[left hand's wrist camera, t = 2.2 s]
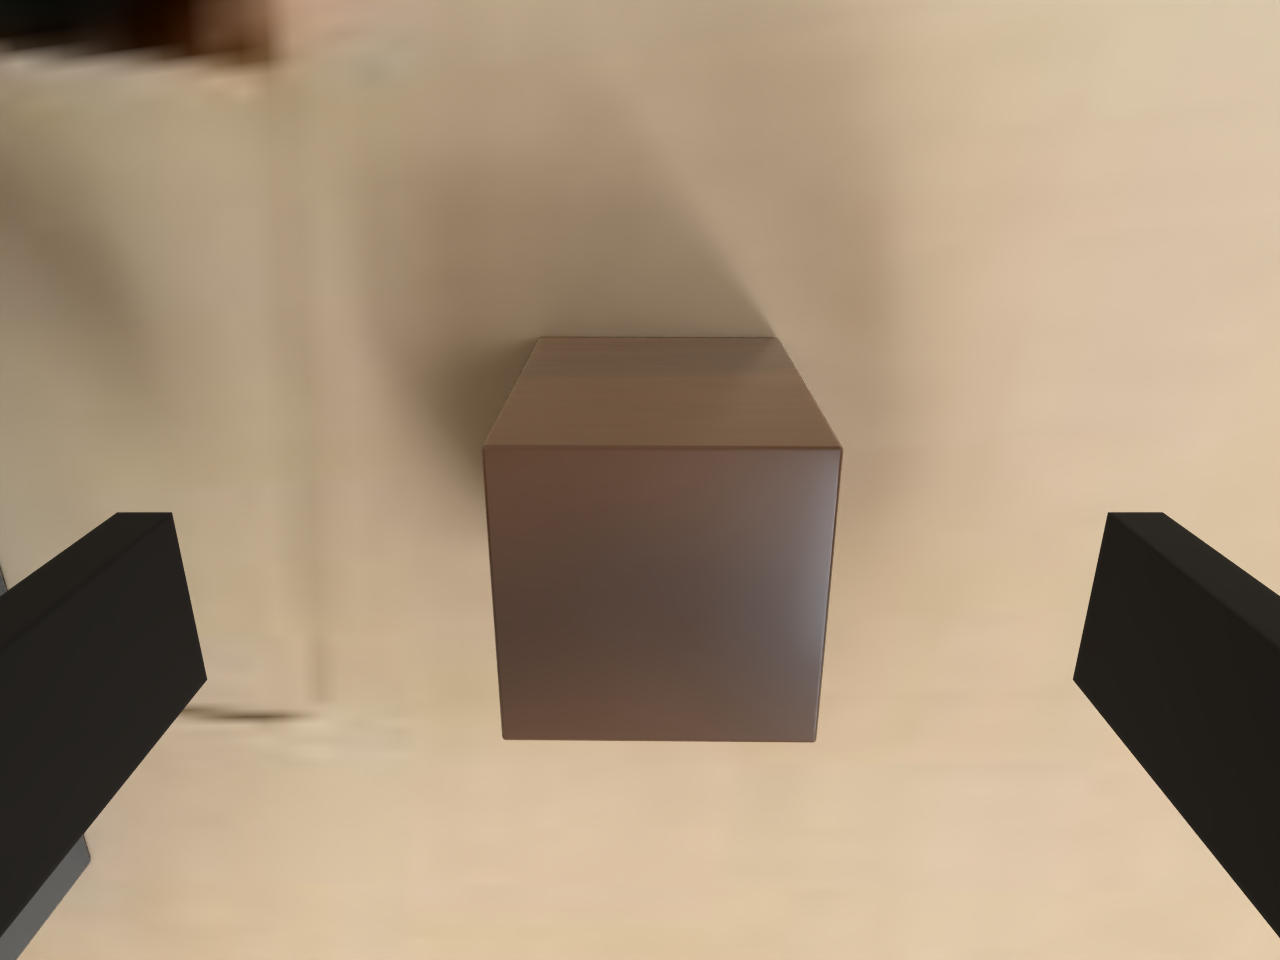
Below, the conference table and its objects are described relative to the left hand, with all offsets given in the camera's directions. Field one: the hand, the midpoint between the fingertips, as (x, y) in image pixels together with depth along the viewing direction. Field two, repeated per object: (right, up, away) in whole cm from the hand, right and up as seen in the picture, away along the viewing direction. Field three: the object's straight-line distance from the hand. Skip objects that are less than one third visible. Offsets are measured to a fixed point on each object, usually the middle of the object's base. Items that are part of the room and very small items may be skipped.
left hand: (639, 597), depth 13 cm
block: (0, +2, +5) cm, 5 cm away
